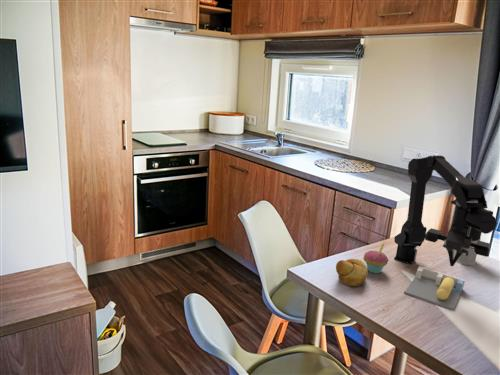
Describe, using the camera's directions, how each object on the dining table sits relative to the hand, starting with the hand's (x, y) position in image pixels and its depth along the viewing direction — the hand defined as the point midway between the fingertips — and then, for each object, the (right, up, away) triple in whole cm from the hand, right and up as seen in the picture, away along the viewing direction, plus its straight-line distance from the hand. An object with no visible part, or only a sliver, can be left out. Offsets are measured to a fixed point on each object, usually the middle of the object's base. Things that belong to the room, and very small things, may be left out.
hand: (451, 265), depth 139 cm
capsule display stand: (-5, -9, +2) cm, 10 cm away
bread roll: (-31, -6, +6) cm, 32 cm away
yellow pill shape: (-2, -9, 0) cm, 9 cm away
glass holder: (+16, -4, +27) cm, 32 cm away
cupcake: (-22, -4, +14) cm, 26 cm away
